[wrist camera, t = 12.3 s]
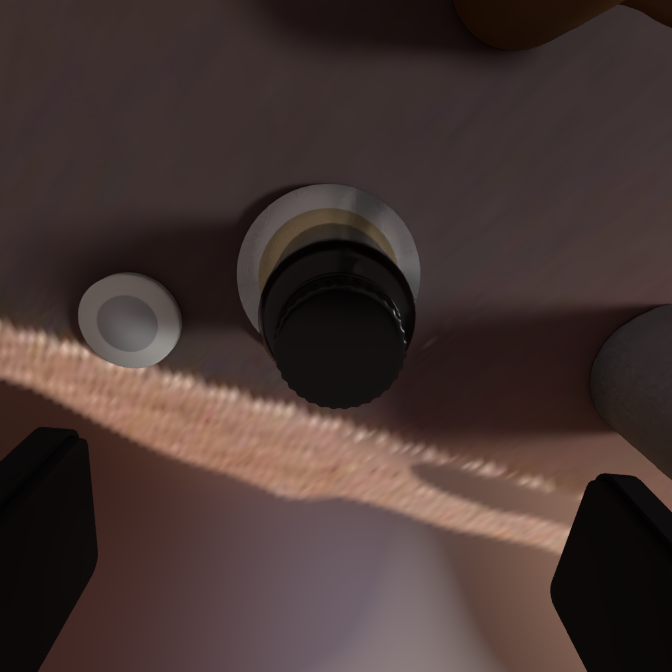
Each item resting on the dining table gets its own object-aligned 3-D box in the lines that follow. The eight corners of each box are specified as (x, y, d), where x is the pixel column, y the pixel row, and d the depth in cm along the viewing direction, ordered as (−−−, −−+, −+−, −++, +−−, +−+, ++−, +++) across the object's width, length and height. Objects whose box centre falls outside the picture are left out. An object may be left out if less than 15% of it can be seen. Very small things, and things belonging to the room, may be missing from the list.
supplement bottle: (399, 319, 29) (449, 417, 17) (292, 343, 29) (272, 454, 18) (378, 207, 26) (418, 234, 15) (261, 235, 27) (215, 282, 15)
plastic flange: (82, 267, 28) (72, 271, 27) (182, 277, 29) (176, 282, 28) (89, 357, 30) (80, 365, 29) (182, 365, 31) (176, 373, 30)
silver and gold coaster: (243, 172, 27) (239, 173, 26) (431, 194, 27) (436, 195, 26) (236, 350, 30) (233, 357, 29) (402, 365, 31) (404, 373, 30)
